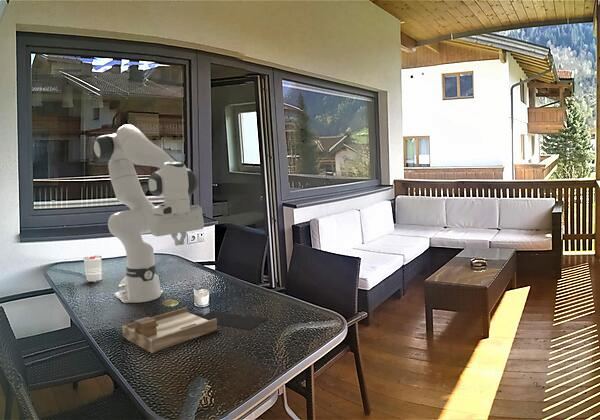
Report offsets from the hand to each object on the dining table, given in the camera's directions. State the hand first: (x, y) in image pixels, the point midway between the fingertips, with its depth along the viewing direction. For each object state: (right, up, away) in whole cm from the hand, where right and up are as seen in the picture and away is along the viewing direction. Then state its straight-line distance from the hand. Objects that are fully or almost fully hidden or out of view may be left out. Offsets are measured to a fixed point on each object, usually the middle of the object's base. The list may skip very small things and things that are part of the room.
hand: (179, 244), depth 171 cm
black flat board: (+16, -29, +6) cm, 33 cm away
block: (-8, -29, -14) cm, 33 cm away
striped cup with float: (-59, -23, +65) cm, 91 cm away
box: (-1, -30, -7) cm, 31 cm away
